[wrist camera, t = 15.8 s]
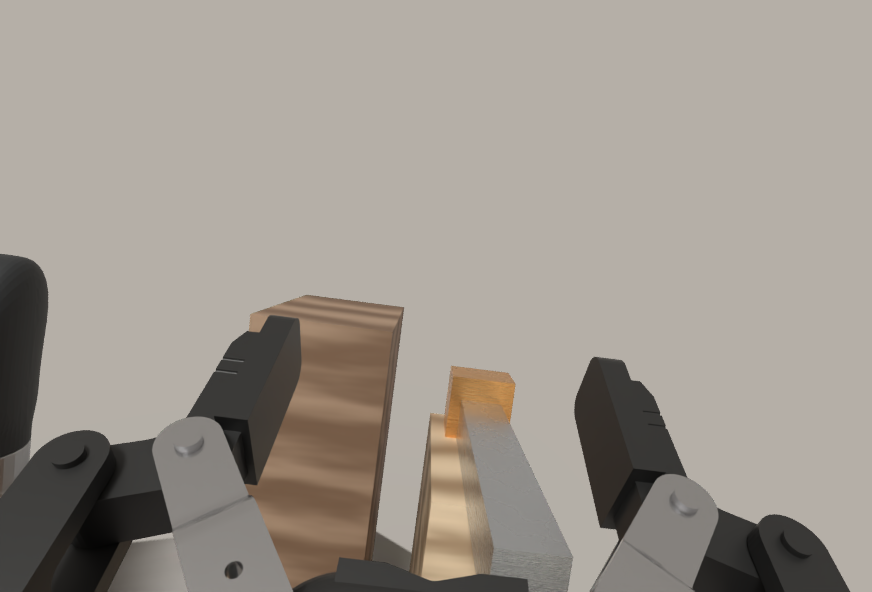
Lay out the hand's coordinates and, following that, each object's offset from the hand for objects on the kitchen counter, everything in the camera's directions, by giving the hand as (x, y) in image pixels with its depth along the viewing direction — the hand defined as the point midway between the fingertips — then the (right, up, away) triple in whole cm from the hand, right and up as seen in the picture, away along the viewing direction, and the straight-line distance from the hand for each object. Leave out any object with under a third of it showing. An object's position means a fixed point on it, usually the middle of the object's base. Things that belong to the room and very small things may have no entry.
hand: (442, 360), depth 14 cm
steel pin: (+3, -12, +21) cm, 25 cm away
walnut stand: (-12, -31, +32) cm, 46 cm away
